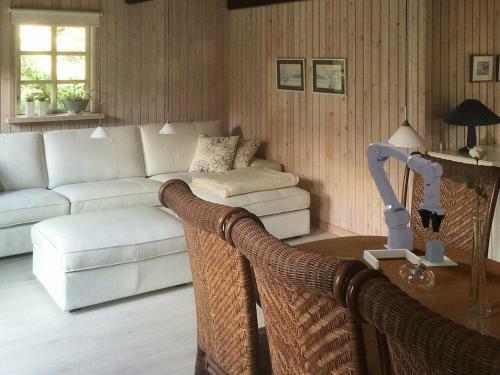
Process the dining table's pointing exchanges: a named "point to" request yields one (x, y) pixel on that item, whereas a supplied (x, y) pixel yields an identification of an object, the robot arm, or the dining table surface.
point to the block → (434, 251)
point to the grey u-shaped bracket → (389, 256)
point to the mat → (446, 262)
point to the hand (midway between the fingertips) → (430, 229)
